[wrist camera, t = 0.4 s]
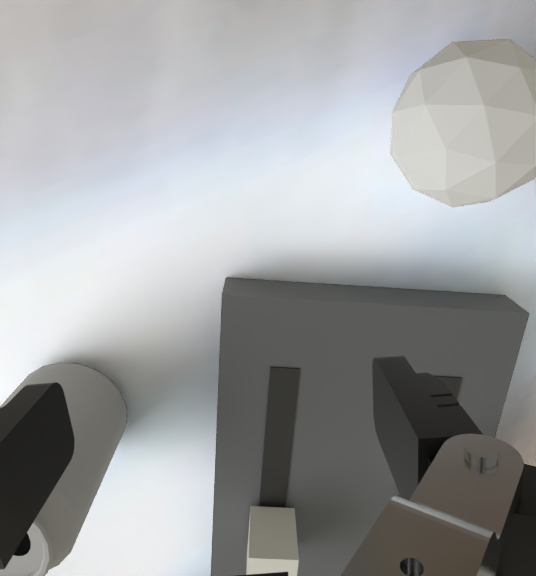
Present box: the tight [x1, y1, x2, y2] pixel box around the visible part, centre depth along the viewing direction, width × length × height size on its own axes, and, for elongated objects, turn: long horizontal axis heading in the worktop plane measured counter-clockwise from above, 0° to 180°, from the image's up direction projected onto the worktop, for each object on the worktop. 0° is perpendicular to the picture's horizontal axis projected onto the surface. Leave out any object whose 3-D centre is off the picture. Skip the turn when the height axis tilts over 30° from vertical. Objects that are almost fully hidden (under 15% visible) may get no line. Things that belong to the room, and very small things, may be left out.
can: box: [0, 363, 127, 576], centre depth 28 cm, size 8×8×12 cm
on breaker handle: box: [246, 506, 299, 576], centre depth 31 cm, size 4×3×4 cm
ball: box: [390, 39, 536, 207], centre depth 24 cm, size 8×8×8 cm
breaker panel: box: [211, 278, 529, 576], centre depth 33 cm, size 24×18×3 cm
